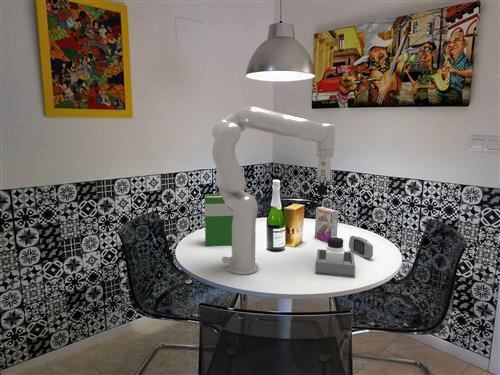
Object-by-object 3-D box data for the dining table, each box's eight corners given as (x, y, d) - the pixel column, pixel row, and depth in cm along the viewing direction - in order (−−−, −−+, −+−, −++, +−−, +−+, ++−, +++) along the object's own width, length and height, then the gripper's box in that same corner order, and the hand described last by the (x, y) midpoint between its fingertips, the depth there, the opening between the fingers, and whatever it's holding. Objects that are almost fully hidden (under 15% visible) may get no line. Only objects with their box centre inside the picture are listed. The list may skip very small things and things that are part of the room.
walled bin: (315, 273, 146) (315, 261, 145) (317, 260, 161) (317, 249, 160) (354, 277, 143) (355, 265, 142) (352, 263, 157) (353, 252, 157)
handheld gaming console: (347, 250, 173) (348, 234, 172) (352, 249, 174) (353, 233, 173) (368, 261, 160) (370, 243, 159) (374, 260, 161) (375, 242, 160)
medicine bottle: (343, 270, 148) (345, 241, 145) (325, 268, 149) (326, 240, 147) (342, 263, 154) (344, 236, 152) (325, 261, 156) (327, 234, 154)
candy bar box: (314, 238, 190) (315, 207, 187) (321, 236, 193) (322, 206, 190) (330, 244, 181) (331, 212, 178) (337, 242, 184) (338, 210, 181)
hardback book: (240, 240, 186) (240, 193, 181) (242, 245, 179) (242, 197, 174) (205, 241, 184) (204, 194, 179) (205, 246, 176) (204, 197, 172)
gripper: (332, 155, 146) (330, 197, 149) (334, 151, 163) (332, 189, 166) (313, 154, 148) (311, 196, 151) (317, 151, 165) (315, 188, 168)
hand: (322, 192), depth 158 cm, fingers open, 9 cm apart
